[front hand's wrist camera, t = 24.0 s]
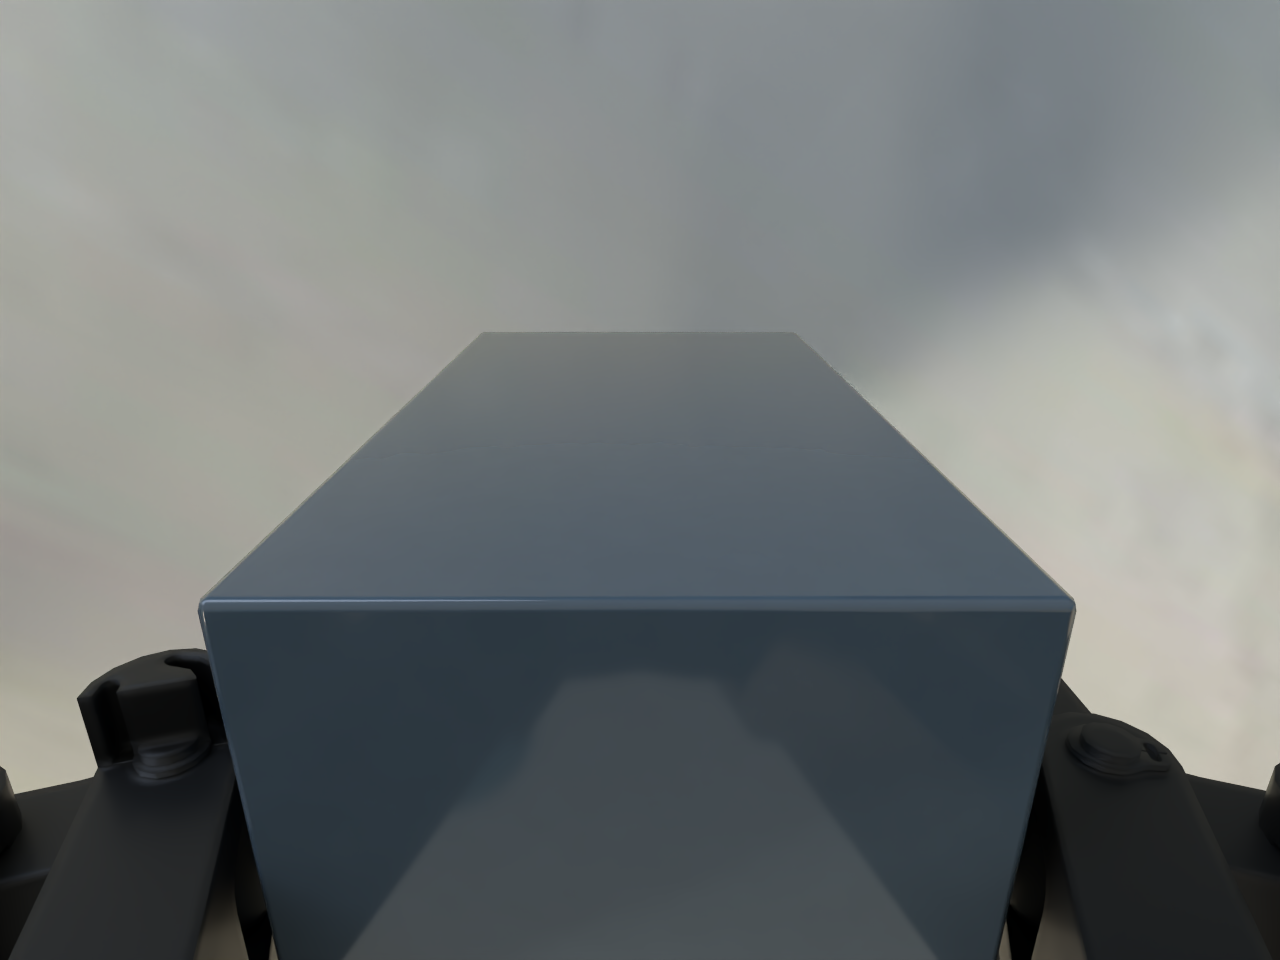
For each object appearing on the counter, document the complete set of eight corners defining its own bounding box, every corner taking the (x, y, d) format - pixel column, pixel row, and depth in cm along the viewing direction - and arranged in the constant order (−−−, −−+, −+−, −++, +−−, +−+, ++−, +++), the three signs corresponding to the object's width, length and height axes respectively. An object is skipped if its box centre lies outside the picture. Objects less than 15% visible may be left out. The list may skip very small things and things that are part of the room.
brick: (796, 331, 15) (1084, 600, 5) (775, 625, 17) (949, 1187, 8) (480, 331, 15) (189, 601, 5) (501, 625, 17) (326, 1188, 8)
